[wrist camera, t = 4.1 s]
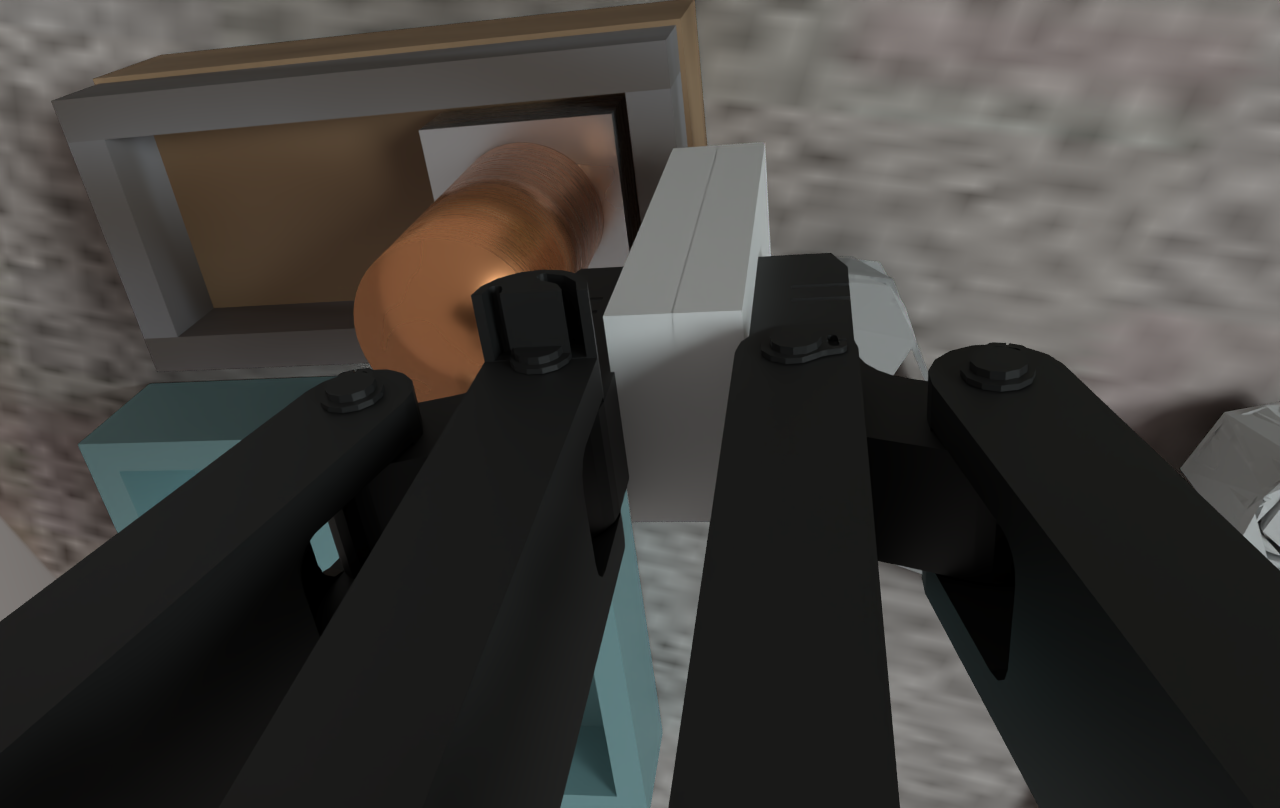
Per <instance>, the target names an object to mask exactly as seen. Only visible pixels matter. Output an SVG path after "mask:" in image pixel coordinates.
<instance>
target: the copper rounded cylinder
mask: <svg viewBox="0 0 1280 808" xmlns="http://www.w3.org/2000/svg"><path fill="white" fill-rule="evenodd" d="M419 134H420V139H421V143H422V148H423V152H424V157H425V161H426V166H427V170H428V175H429V179H430V184H431V188H432V193H433V197H434V203H433V204H432V205H431V206H430V207H429V208H428V209H427V210H426V211H425V212H424V213H423V214H422V215H421V216H420V217H419V218H418V219H417V220H416V221H415V222H414V223H413V224H412V225H411V226H410V227H409V228H408V229H407V230H406V231H405V232H404V233H403V234H402V235H401V236H400V237H399V238H398V239H397V240H396V241H395V242H394V243H393V244H392V245H391V246H390V247H389V248H388V249H387V250H386V251H385V252H384V253H383V254H382V255H381V256H380V257H379V258H378V259H377V260H376V261H375V262H374V263H373V264H372V265H371V266H370V267H369V269H368V270H367V271H366V273H365V274H364V276H363V278H362V279H361V281H360V284H359V286H358V289H357V292H356V296H355V301H354V312H353V314H354V326H355V331H356V335H357V338H358V341H359V344H360V347H361V349H362V351H363V353H364V355H365V357H366V359H367V361H368V362H369V364H370V365H371V367H372V368H373V370H381V369H388V370H392V371H397V372H401V373H404V374H405V375H406V376H408V377H409V378H410V379H411V380H412V381H413V385H414V389H415V393H416V397H417V401H418V402H424V401H429V400H434V399H439V398H444V397H450V396H454V395H458V394H462V393H466V392H467V390H468V389H469V387H470V385H471V384H472V382H473V380H474V379H475V377H476V375H477V374H478V372H479V370H480V369H481V367H482V365H483V364H484V357H483V352H482V347H481V342H480V338H479V333H478V328H477V323H476V318H475V314H474V309H473V304H472V299H471V295H472V294H473V293H474V292H475V291H476V290H477V289H479V288H480V287H481V286H483V285H485V284H487V283H489V282H491V281H493V280H495V279H498V278H501V277H504V276H508V275H512V274H515V273H519V272H526V271H534V270H564V271H568V272H572V273H576V272H577V271H578V270H580V269H586V268H605V267H624V265H625V262H626V260H627V257H628V255H629V253H630V250H631V248H632V245H633V243H634V241H635V238H636V236H637V234H638V231H639V229H640V222H639V214H638V206H637V198H636V189H635V181H634V173H633V165H632V157H631V149H630V141H629V132H628V124H627V116H626V108H625V100H624V96H613V97H602V98H591V99H580V100H569V101H558V102H546V103H535V104H524V105H513V106H502V107H491V108H480V109H468V110H457V111H446V112H442V113H440V114H439V115H438V116H437V117H435V118H434V119H433V120H431V121H430V122H429V123H428V124H426V125H425V126H424V127H422V128H421V129H420V130H419Z"/></svg>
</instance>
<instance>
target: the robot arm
mask: <svg viewBox="0 0 1280 808" xmlns="http://www.w3.org/2000/svg"><path fill="white" fill-rule="evenodd" d="M471 299H472V304H473V309H474V314H475V318H476V323H477V328H478V333H479V338H480V342H481V347H482V352H483V357H484V364H483V365H482V367H481V369H480V370H479V372H478V374H477V375H476V377H475V379H474V380H473V382H472V384H471V385H470V387H469V389H468V390H467V392H466V393H462V394H458V395H454V396H450V397H444V398H439V399H434V400H429V401H424V402H418V401H417V397H416V393H415V389H414V385H413V381H412V380H411V379H410V378H409V377H408V376H406V375H405V374H404V373H401V372H397V371H392V370H388V369H381V370H372V369H370V368H364V369H357V371H356V372H355V371H354V370H351V371H347V372H343V373H341V374H339V375H338V377H335V378H332V379H329V380H326V381H324V382H322V383H320V384H318V385H317V386H315V387H313V388H311V389H310V390H308V391H306V392H305V393H304V394H302V395H301V396H300V397H298V398H297V399H296V400H294V401H293V402H292V403H290V404H289V405H288V406H286V407H285V408H284V409H282V410H281V411H280V412H278V413H277V414H276V415H274V416H273V417H272V418H270V419H269V420H268V421H266V422H265V423H264V424H262V425H261V426H260V427H258V428H257V429H256V430H254V431H253V432H252V433H250V434H249V435H248V436H246V437H245V438H244V439H242V440H241V441H240V442H238V443H237V444H236V445H234V446H233V447H232V448H230V449H229V450H228V451H226V452H225V453H224V454H222V455H221V456H220V457H218V458H217V459H216V460H215V461H213V462H212V463H211V464H209V465H208V466H207V467H205V468H204V469H203V470H201V471H200V472H199V473H197V474H196V475H195V476H193V477H192V478H191V479H189V480H188V481H187V482H185V483H184V484H183V485H181V486H180V487H179V488H177V489H176V490H175V491H173V492H172V493H171V494H169V495H168V496H167V497H165V498H164V499H163V500H161V501H160V502H159V503H157V504H156V505H155V506H153V507H152V508H151V509H149V510H148V511H147V512H145V513H144V514H143V515H141V516H140V517H139V518H137V519H136V520H135V521H133V522H132V523H131V524H129V525H128V526H127V527H125V528H124V529H123V530H121V531H120V532H119V533H117V534H116V535H115V536H113V537H112V538H111V539H109V540H108V541H107V542H105V543H104V544H103V545H101V546H100V547H99V548H98V549H96V550H95V551H94V552H92V553H91V554H90V555H88V556H87V557H86V558H84V559H83V560H82V561H80V562H79V563H78V564H76V565H75V566H74V567H72V568H71V569H70V570H68V571H67V572H66V573H64V574H63V575H62V576H60V577H59V578H58V579H56V580H55V581H54V582H52V583H51V584H50V585H48V586H47V587H46V588H44V589H43V590H42V591H41V592H39V593H38V594H36V595H35V596H34V597H32V598H31V599H30V600H28V601H27V602H26V603H24V604H23V605H22V606H20V607H19V608H18V609H16V610H15V611H14V612H12V613H11V614H10V615H8V616H7V617H6V618H4V619H3V620H2V621H1V622H0V808H560V807H561V803H562V799H563V795H564V791H565V787H566V783H567V779H568V775H569V771H570V767H571V763H572V759H573V755H574V751H575V747H576V743H577V739H578V735H579V731H580V727H581V723H582V719H583V715H584V711H585V707H586V703H587V699H588V695H589V691H590V687H591V683H592V679H593V675H594V671H595V667H596V663H597V659H598V655H599V651H600V647H601V643H602V639H603V635H604V631H605V626H606V622H607V618H608V614H609V610H610V606H611V602H612V598H613V594H614V590H615V586H616V582H617V578H618V574H619V570H620V566H621V562H622V558H623V554H624V550H625V536H624V528H623V521H622V515H621V507H622V503H623V500H624V496H625V492H626V489H627V491H628V498H629V505H630V512H631V519H632V522H710V526H709V533H708V540H707V547H706V554H705V561H704V567H703V574H702V581H701V588H700V595H699V602H698V609H697V616H696V622H695V629H694V636H693V643H692V650H691V657H690V664H689V671H688V678H687V684H686V691H685V698H684V705H683V712H682V719H681V726H680V733H679V739H678V746H677V753H676V760H675V767H674V774H673V781H672V788H671V795H670V801H669V808H900V803H899V792H898V781H897V770H896V758H895V747H894V736H893V725H892V714H891V703H890V692H889V681H888V669H887V658H886V647H885V636H884V625H883V614H882V603H881V592H880V580H879V569H878V561H881V562H886V563H891V564H895V565H900V566H904V567H909V568H913V569H918V570H922V581H923V585H924V590H925V594H926V596H927V598H928V599H929V601H930V603H931V605H932V607H933V609H934V611H935V613H936V614H937V616H938V618H939V620H940V622H941V624H942V626H943V628H944V629H945V631H946V633H947V635H948V637H949V639H950V641H951V643H952V645H953V646H954V648H955V650H956V652H957V654H958V656H959V658H960V660H961V661H962V663H963V665H964V667H965V669H966V671H967V673H968V675H969V676H970V678H971V680H972V682H973V684H974V686H975V688H976V690H977V691H978V693H979V695H980V697H981V699H982V701H983V703H984V705H985V706H986V708H987V710H988V712H989V714H990V716H991V718H992V720H993V721H994V723H995V725H996V727H997V729H998V731H999V733H1000V735H1001V736H1002V738H1003V740H1004V742H1005V744H1006V746H1007V748H1008V750H1009V751H1010V753H1011V755H1012V757H1013V759H1014V761H1015V763H1016V765H1017V766H1018V768H1019V770H1020V772H1021V774H1022V776H1023V778H1024V780H1025V782H1026V783H1027V785H1028V787H1029V789H1030V791H1031V793H1032V795H1033V797H1034V798H1035V800H1036V802H1037V804H1038V806H1039V808H1280V570H1279V569H1278V568H1277V567H1276V566H1275V565H1274V564H1273V563H1271V562H1270V561H1269V560H1268V559H1267V558H1266V557H1265V556H1264V555H1263V554H1262V553H1261V552H1260V551H1259V550H1258V549H1257V548H1256V547H1255V546H1254V545H1253V544H1252V543H1251V542H1249V541H1248V540H1247V539H1246V538H1245V537H1244V536H1243V535H1242V534H1241V533H1240V532H1239V531H1238V530H1237V529H1236V528H1235V527H1234V526H1233V525H1232V524H1231V523H1230V522H1228V521H1227V520H1226V519H1225V518H1224V517H1223V516H1222V515H1221V514H1220V513H1219V512H1218V511H1217V510H1216V509H1215V508H1214V507H1213V506H1212V505H1211V504H1210V503H1209V502H1208V501H1206V500H1205V499H1204V498H1203V497H1202V496H1201V495H1200V494H1199V493H1198V492H1197V491H1196V490H1195V489H1194V488H1193V487H1192V486H1191V485H1190V484H1189V483H1188V482H1187V481H1185V480H1184V479H1183V478H1182V477H1181V476H1180V475H1179V474H1178V473H1177V472H1176V471H1175V470H1174V469H1173V468H1172V467H1171V466H1170V465H1169V464H1168V463H1167V462H1166V461H1165V460H1163V459H1162V458H1161V457H1160V456H1159V455H1158V454H1157V453H1156V452H1155V451H1154V450H1153V449H1152V448H1151V447H1150V446H1149V445H1148V444H1147V443H1146V442H1145V441H1144V440H1142V439H1141V438H1140V437H1139V436H1138V435H1137V434H1136V433H1135V432H1134V431H1133V430H1132V429H1131V428H1130V427H1129V426H1128V425H1127V424H1126V423H1125V422H1124V421H1123V420H1122V419H1120V418H1119V417H1118V416H1117V415H1116V414H1115V413H1114V412H1113V411H1112V410H1111V409H1110V408H1109V407H1108V406H1107V405H1106V404H1105V403H1104V402H1103V401H1102V400H1101V399H1099V398H1098V397H1097V396H1096V395H1095V394H1094V393H1093V392H1092V391H1091V390H1090V389H1089V388H1088V387H1087V386H1086V385H1085V384H1084V383H1083V382H1082V381H1081V380H1080V379H1079V378H1077V377H1076V376H1075V375H1074V374H1073V373H1072V372H1071V371H1070V370H1069V369H1068V368H1067V367H1066V366H1065V365H1064V364H1062V363H1061V362H1059V361H1057V360H1056V359H1054V358H1053V357H1051V356H1050V355H1048V354H1045V353H1042V352H1039V351H1035V350H1032V349H1029V348H1026V347H1024V346H1022V345H1017V344H1010V343H1009V345H1006V343H989V344H987V345H972V346H968V347H964V348H960V349H956V350H952V351H949V352H948V353H946V354H944V355H942V356H941V357H939V358H937V359H935V360H934V362H933V364H932V366H931V367H930V369H929V371H928V381H923V380H915V379H909V378H904V377H899V376H894V375H890V374H888V373H885V372H882V371H879V370H877V369H875V368H873V367H871V366H870V365H868V364H866V363H865V362H864V361H863V360H862V359H861V358H860V357H859V348H858V346H857V344H856V342H855V340H854V331H853V320H852V309H851V299H850V287H849V275H848V266H846V265H845V264H844V263H843V262H841V261H840V260H839V259H838V258H837V257H835V256H834V255H833V254H832V253H822V254H802V255H783V256H771V249H770V229H769V210H768V190H767V171H766V152H765V142H755V143H742V144H728V145H714V146H700V147H686V148H673V150H672V152H671V154H670V157H669V159H668V162H667V164H666V166H665V169H664V171H663V174H662V176H661V178H660V181H659V183H658V186H657V188H656V190H655V193H654V195H653V198H652V200H651V202H650V205H649V207H648V210H647V212H646V214H645V217H644V219H643V222H642V224H641V226H640V229H639V231H638V234H637V236H636V238H635V241H634V243H633V245H632V248H631V250H630V253H629V255H628V257H627V260H626V262H625V265H624V267H605V268H586V269H580V270H578V271H577V272H576V273H572V272H568V271H564V270H534V271H526V272H519V273H515V274H512V275H508V276H504V277H501V278H498V279H495V280H493V281H491V282H489V283H487V284H485V285H483V286H481V287H480V288H479V289H477V290H476V291H475V292H474V293H473V294H472V295H471ZM327 522H328V524H329V527H330V530H331V533H332V537H333V540H334V543H335V546H336V549H337V552H338V555H339V559H338V560H337V561H336V562H335V563H334V564H333V565H332V566H331V567H330V568H328V569H326V570H325V571H323V572H322V570H321V569H320V567H319V566H318V563H317V560H316V557H315V554H314V551H313V548H312V545H311V542H310V540H311V539H312V537H313V536H314V535H315V533H316V532H317V531H318V530H320V529H321V528H322V527H323V526H324V525H325V524H326V523H327Z"/></svg>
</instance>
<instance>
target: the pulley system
mask: <svg viewBox="0 0 1280 808" xmlns="http://www.w3.org/2000/svg"><path fill="white" fill-rule="evenodd" d="M837 258H838V259H839V260H840V261H841V262H843V263H844V264H845V265H846V266H848V275H849V287H850V299H851V309H852V320H853V331H854V340H855V342H856V344H857V346H858V348H859V357H860V358H861V359H862V360H863V361H864V362H865V363H866V364H868V365H870V366H871V367H873V368H875V369H877V370H879V371H882V372H885V373H888V374H890V375H894V374H895V372H896V371H897V369H898V368H899V366H900V365H901V363H902V362H903V360H904V359H905V357H906V356H907V354H908V353H909V351H910V350H911V348H912V350H913V353H914V355H915V358H916V360H917V363H918V365H919V368H920V370H921V373H922V375H923V378H924V380H925V381H928V371H927V368H926V365H925V363H924V360H923V357H922V355H921V352H920V349H919V347H918V344H917V341H916V338H915V335H914V332H913V329H912V326H911V323H910V320H909V317H908V313H907V310H906V307H905V305H904V304H903V302H902V301H901V299H900V296H899V293H898V291H897V288H896V285H895V283H894V280H893V279H892V278H890V277H889V276H888V275H887V274H886V272H885V270H884V269H883V267H882V266H881V264H880V262H877V261H867V260H858V259H856V258H854V257H837ZM1180 469H1181V471H1182V472H1183V473H1184V475H1185V476H1186V477H1187V479H1188V480H1189V481H1190V483H1191V484H1192V485H1193V487H1194V488H1195V490H1196V491H1197V492H1198V493H1199V494H1200V495H1201V496H1202V497H1203V498H1204V499H1205V500H1206V501H1208V502H1209V503H1210V504H1211V505H1212V506H1213V507H1214V508H1215V509H1216V510H1217V511H1218V512H1219V513H1220V514H1221V515H1222V516H1223V517H1224V518H1225V519H1226V520H1227V521H1228V522H1230V523H1231V524H1232V525H1233V526H1234V527H1235V528H1236V529H1237V530H1238V531H1239V532H1240V533H1241V534H1242V535H1243V536H1244V537H1245V538H1246V539H1247V540H1248V541H1249V542H1251V543H1252V544H1253V545H1254V546H1255V547H1256V548H1257V549H1258V550H1259V551H1260V552H1261V553H1262V554H1263V555H1264V556H1265V557H1266V558H1267V559H1268V560H1269V561H1270V562H1271V563H1273V564H1274V565H1275V566H1276V567H1277V568H1278V569H1279V570H1280V402H1275V403H1270V404H1265V405H1260V406H1254V407H1249V408H1244V409H1239V410H1233V411H1228V412H1224V413H1223V415H1222V416H1221V417H1220V418H1219V420H1218V421H1217V422H1216V423H1215V425H1214V426H1213V427H1212V429H1211V430H1210V431H1209V432H1208V434H1207V435H1206V436H1205V437H1204V439H1203V440H1202V441H1201V443H1200V444H1199V445H1198V446H1197V448H1196V449H1195V450H1194V451H1193V453H1192V454H1191V455H1190V456H1189V458H1188V459H1187V460H1186V462H1185V463H1184V464H1183V465H1182V467H1181V468H1180ZM897 566H900V565H897ZM900 567H903V568H906V569H908V570H911V571H914V572H917V573H920V574H922V570H918V569H913V568H909V567H904V566H900Z"/></svg>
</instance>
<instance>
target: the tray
mask: <svg viewBox="0 0 1280 808" xmlns="http://www.w3.org/2000/svg"><path fill="white" fill-rule="evenodd" d="M335 377H338V376H330V377H305V378H280V379H255V380H230V381H205V382H180V383H155V384H149V385H147V386H146V387H145V388H144V389H143V390H141V391H140V392H139V393H138V394H137V395H136V396H134V397H133V398H132V399H131V400H130V401H128V402H127V403H126V404H125V405H124V406H123V407H121V408H120V409H119V410H118V411H117V412H115V413H114V414H113V415H112V416H111V417H110V418H108V419H107V420H106V421H105V422H104V423H102V424H101V425H100V426H99V427H98V428H97V429H95V430H94V431H93V432H92V433H91V434H89V435H88V436H87V437H86V438H85V439H83V440H82V441H81V442H80V443H79V444H78V446H79V449H80V451H81V453H82V455H83V457H84V460H85V462H86V464H87V466H88V468H89V471H90V473H91V475H92V477H93V480H94V482H95V484H96V486H97V488H98V491H99V493H100V495H101V497H102V499H103V502H104V504H105V506H106V508H107V511H108V513H109V515H110V517H111V519H112V522H113V524H114V526H115V528H116V530H117V533H119V532H120V531H121V530H123V529H124V528H125V527H127V526H128V525H129V524H131V523H132V522H133V521H135V520H136V519H137V518H139V517H140V516H141V515H143V514H144V513H145V512H147V511H148V510H149V509H151V508H152V507H153V506H155V505H156V504H157V503H159V502H160V501H161V500H163V499H164V498H165V497H167V496H168V495H169V494H171V493H172V492H173V491H175V490H176V489H177V488H179V487H180V486H181V485H183V484H184V483H185V482H187V481H188V480H189V479H191V478H192V477H193V476H195V475H196V474H197V473H199V472H200V471H201V470H203V469H204V468H205V467H207V466H208V465H209V464H211V463H212V462H213V461H215V460H216V459H217V458H218V457H220V456H221V455H222V454H224V453H225V452H226V451H228V450H229V449H230V448H232V447H233V446H234V445H236V444H237V443H238V442H240V441H241V440H242V439H244V438H245V437H246V436H248V435H249V434H250V433H252V432H253V431H254V430H256V429H257V428H258V427H260V426H261V425H262V424H264V423H265V422H266V421H268V420H269V419H270V418H272V417H273V416H274V415H276V414H277V413H278V412H280V411H281V410H282V409H284V408H285V407H286V406H288V405H289V404H290V403H292V402H293V401H294V400H296V399H297V398H298V397H300V396H301V395H302V394H304V393H305V392H306V391H308V390H310V389H311V388H313V387H315V386H317V385H318V384H320V383H322V382H324V381H326V380H329V379H332V378H335ZM621 515H622V521H623V528H624V536H625V550H624V554H623V558H622V562H621V566H620V570H619V574H618V578H617V582H616V586H615V590H614V594H613V598H612V602H611V606H610V610H609V614H608V618H607V622H606V626H605V631H604V635H603V639H602V643H601V647H600V651H599V655H598V659H597V663H596V667H595V671H594V675H593V679H592V683H591V687H590V691H589V695H588V699H587V703H586V707H585V711H584V715H583V719H582V723H581V727H580V731H579V735H578V739H577V743H576V747H575V751H574V755H573V759H572V763H571V767H570V771H569V775H568V779H567V783H566V787H565V791H564V795H563V799H562V803H561V807H560V808H650V806H651V800H652V794H653V788H654V781H655V775H656V769H657V763H658V757H659V751H660V744H661V738H662V725H661V718H660V712H659V705H658V698H657V691H656V685H655V678H654V671H653V665H652V658H651V651H650V645H649V638H648V631H647V624H646V618H645V611H644V604H643V598H642V591H641V584H640V578H639V571H638V564H637V557H636V551H635V544H634V537H633V531H632V524H631V517H630V511H629V504H628V497H627V490H626V492H625V496H624V500H623V503H622V507H621ZM310 542H311V545H312V548H313V551H314V554H315V557H316V560H317V563H318V566H319V567H320V569H321V570H322V572H323V571H325V570H326V569H328V568H330V567H331V566H332V565H333V564H334V563H335V562H336V561H337V560H338V559H339V555H338V552H337V549H336V546H335V543H334V540H333V537H332V533H331V530H330V527H329V524H328V522H327V523H326V524H325V525H324V526H323V527H322V528H321V529H320V530H318V531H317V532H316V533H315V535H314V536H313V537H312V539H311V540H310Z"/></svg>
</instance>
